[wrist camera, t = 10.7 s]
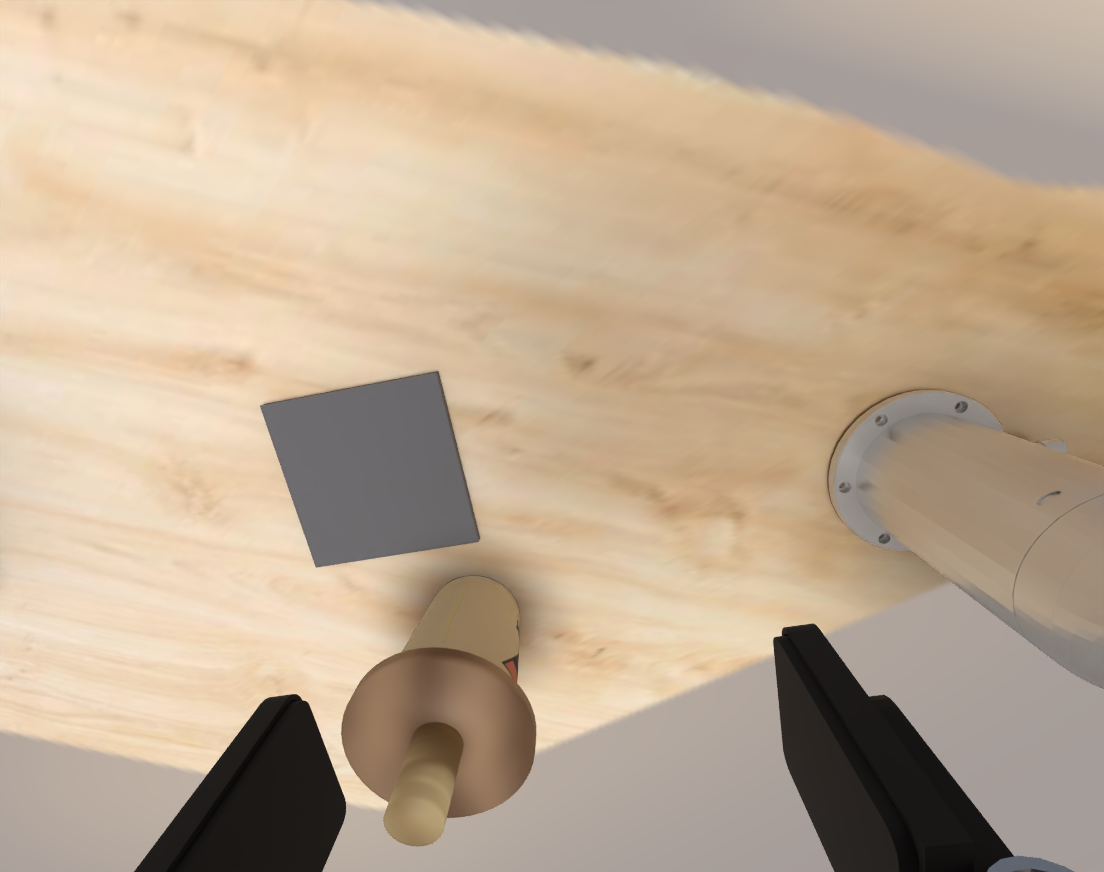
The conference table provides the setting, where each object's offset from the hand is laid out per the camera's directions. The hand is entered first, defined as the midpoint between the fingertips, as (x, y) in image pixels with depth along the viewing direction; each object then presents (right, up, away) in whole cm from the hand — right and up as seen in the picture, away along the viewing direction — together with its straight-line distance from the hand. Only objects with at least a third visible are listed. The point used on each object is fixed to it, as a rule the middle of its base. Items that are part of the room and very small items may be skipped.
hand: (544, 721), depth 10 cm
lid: (-7, -13, +23) cm, 27 cm away
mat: (-14, +3, +31) cm, 34 cm away
